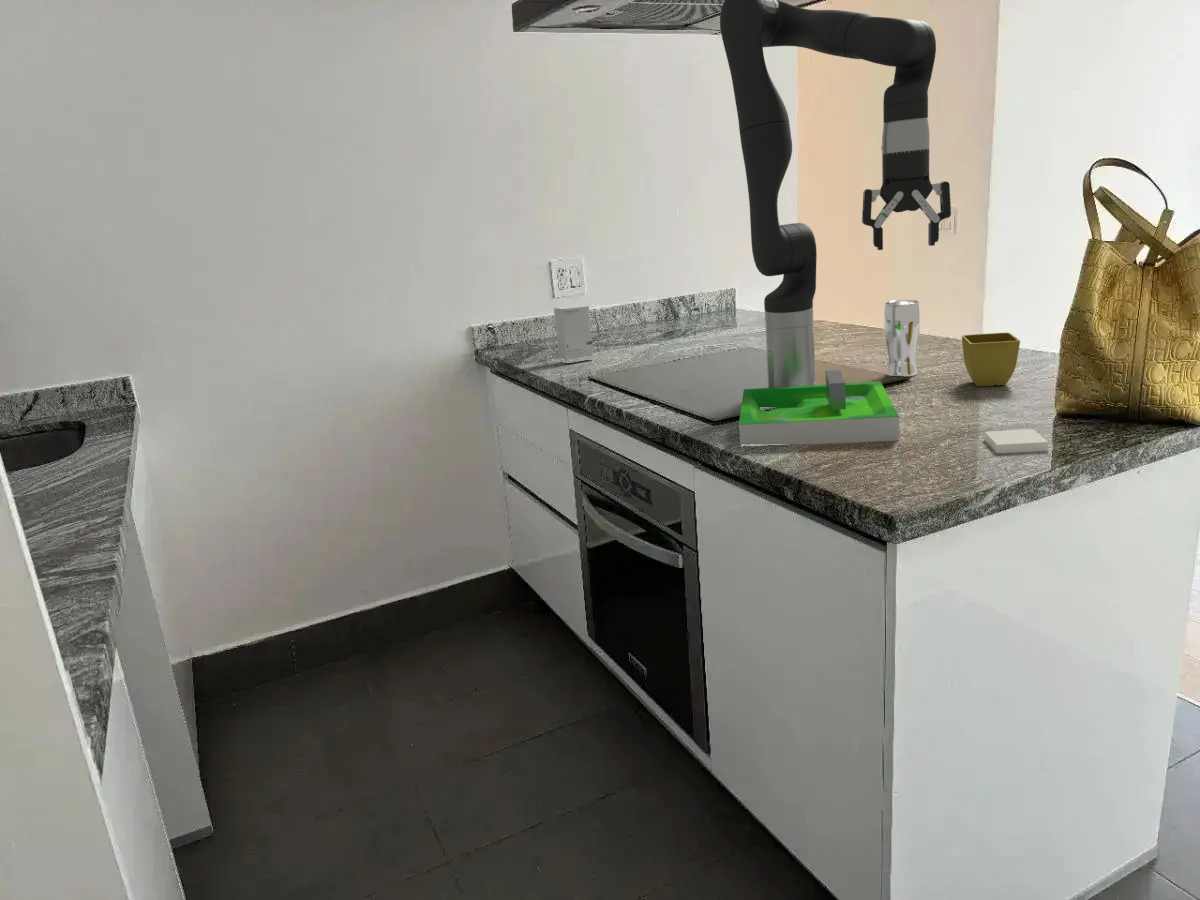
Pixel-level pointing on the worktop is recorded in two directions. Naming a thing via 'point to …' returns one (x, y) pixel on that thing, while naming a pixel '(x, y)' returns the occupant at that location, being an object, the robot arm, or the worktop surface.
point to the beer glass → (902, 336)
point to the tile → (1016, 441)
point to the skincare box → (573, 331)
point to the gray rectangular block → (835, 390)
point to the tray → (817, 415)
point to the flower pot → (990, 357)
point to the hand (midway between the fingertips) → (905, 247)
